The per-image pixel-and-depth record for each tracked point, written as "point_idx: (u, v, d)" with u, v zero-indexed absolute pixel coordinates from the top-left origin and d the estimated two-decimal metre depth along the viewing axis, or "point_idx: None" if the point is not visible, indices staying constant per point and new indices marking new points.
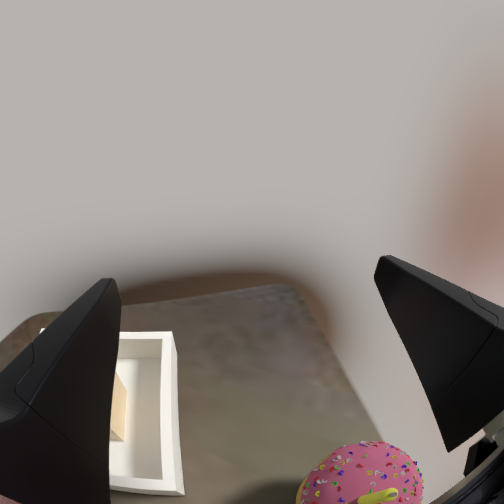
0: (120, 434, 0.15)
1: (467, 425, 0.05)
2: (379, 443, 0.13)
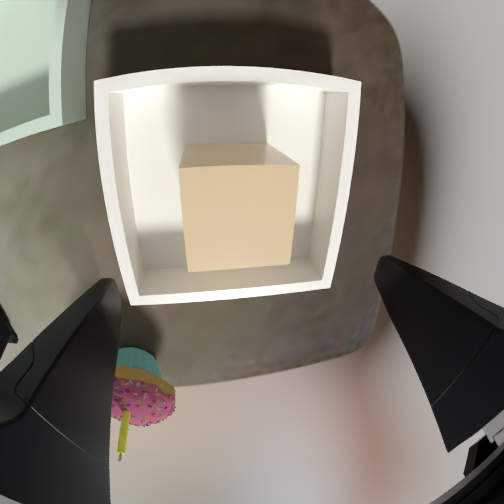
0: None
1: (467, 425, 0.05)
2: (170, 414, 0.22)
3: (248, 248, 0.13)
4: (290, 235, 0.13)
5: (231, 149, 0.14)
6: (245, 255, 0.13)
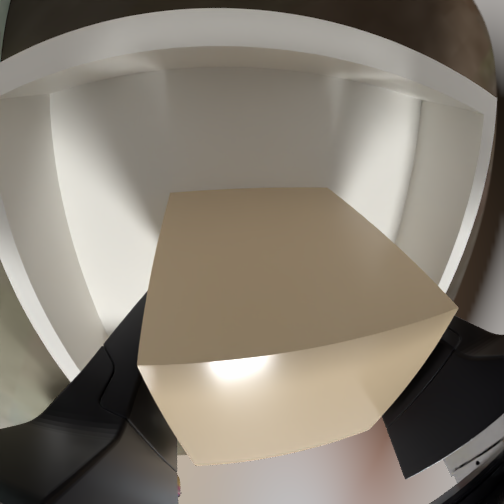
0: None
1: (423, 454, 0.04)
2: None
3: (310, 438, 0.05)
4: (386, 407, 0.05)
5: (272, 219, 0.06)
6: (302, 444, 0.06)
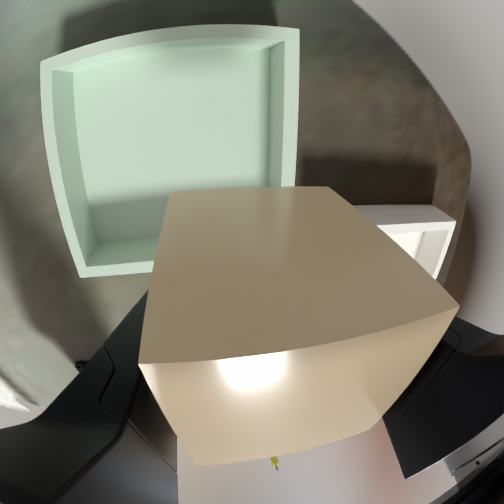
0: None
1: (423, 454, 0.04)
2: None
3: (311, 438, 0.05)
4: (388, 406, 0.05)
5: (273, 217, 0.06)
6: (303, 443, 0.05)
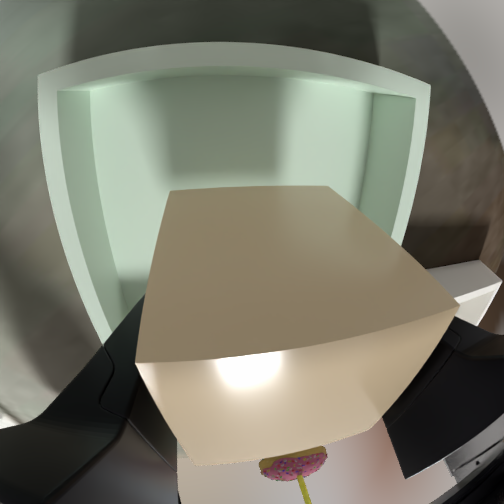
0: None
1: (423, 454, 0.04)
2: None
3: (310, 438, 0.05)
4: (387, 406, 0.05)
5: (272, 216, 0.06)
6: (302, 444, 0.05)
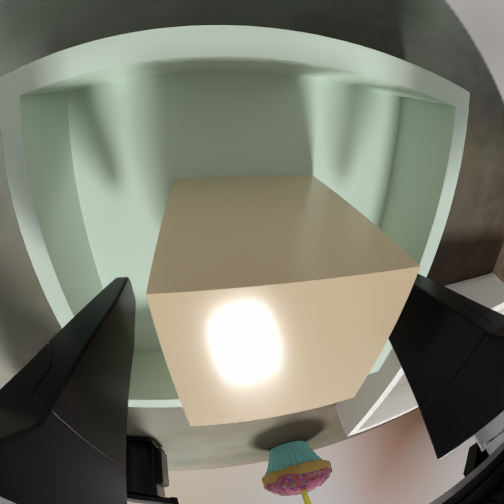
0: None
1: (457, 432, 0.05)
2: None
3: (296, 397, 0.06)
4: (367, 370, 0.06)
5: (261, 198, 0.07)
6: (289, 404, 0.07)
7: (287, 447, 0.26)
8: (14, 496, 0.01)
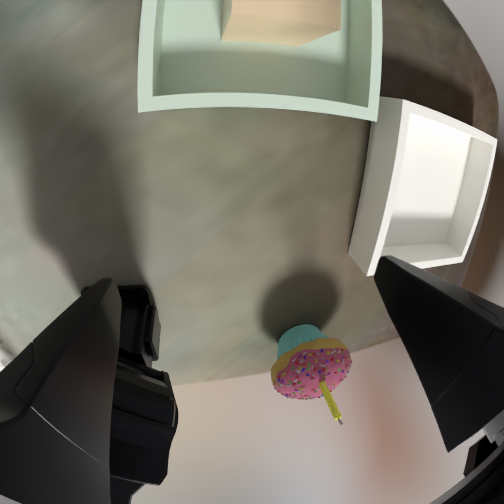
0: (226, 37, 0.12)
1: (466, 425, 0.05)
2: None
3: (298, 1, 0.08)
4: (338, 2, 0.08)
5: None
6: (295, 7, 0.08)
7: (299, 329, 0.27)
8: None
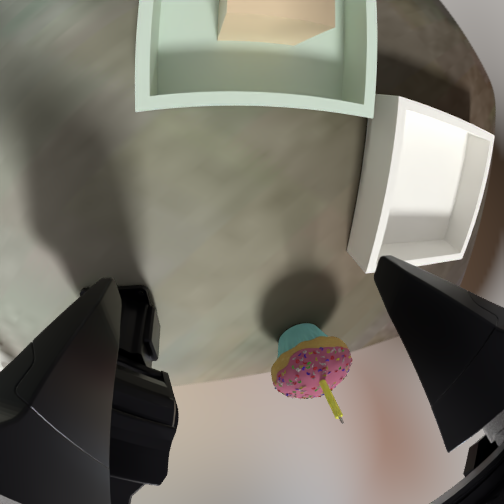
0: (222, 37, 0.12)
1: (467, 425, 0.05)
2: None
3: (292, 0, 0.08)
4: (332, 0, 0.08)
5: None
6: (289, 6, 0.08)
7: (299, 328, 0.27)
8: None
